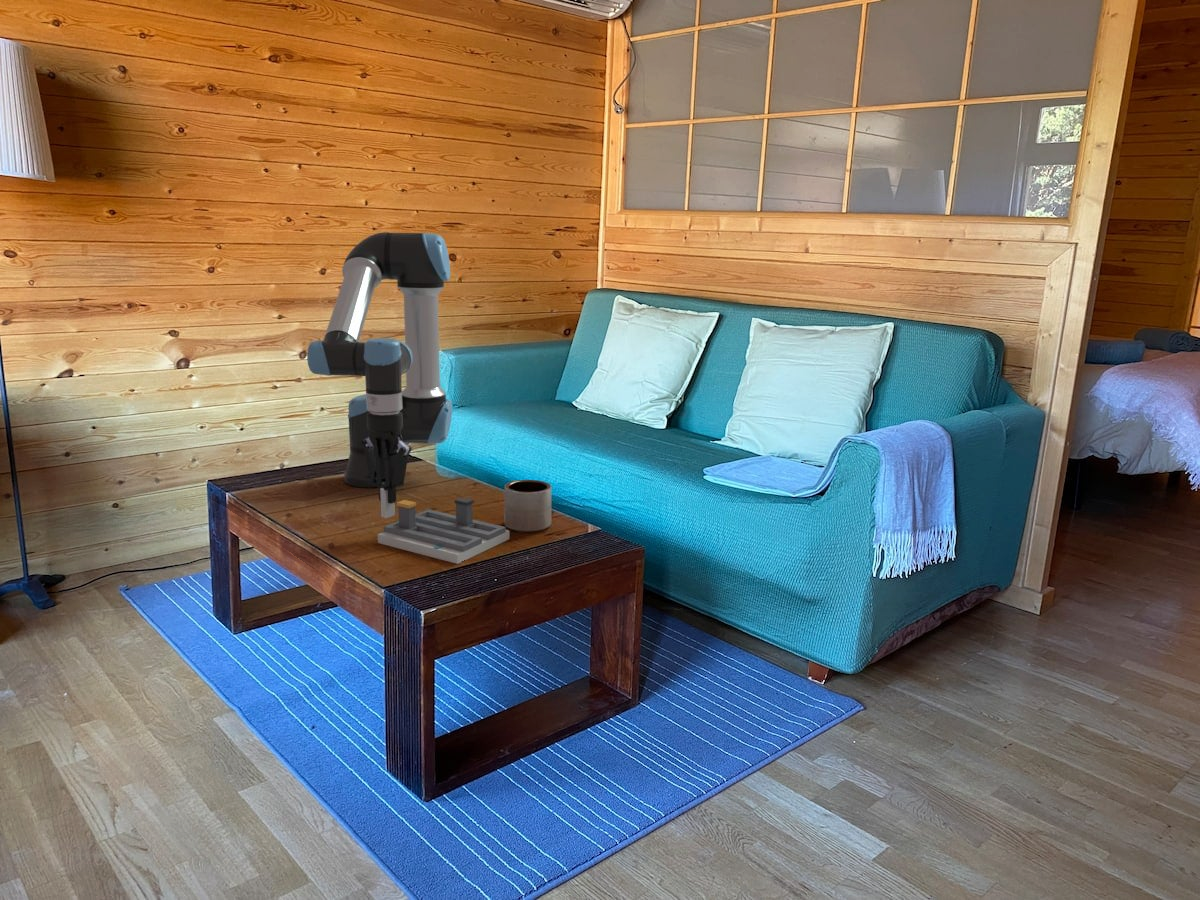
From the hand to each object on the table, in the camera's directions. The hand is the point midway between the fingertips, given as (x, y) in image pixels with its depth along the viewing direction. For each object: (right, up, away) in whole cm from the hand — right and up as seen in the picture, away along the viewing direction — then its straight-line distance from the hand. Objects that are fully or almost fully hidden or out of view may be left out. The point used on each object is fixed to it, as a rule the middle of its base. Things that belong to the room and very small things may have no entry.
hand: (388, 516), depth 200 cm
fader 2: (+17, -3, +1) cm, 17 cm away
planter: (+30, -3, +10) cm, 32 cm away
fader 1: (+5, -3, -2) cm, 6 cm away
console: (+13, -5, -1) cm, 14 cm away
